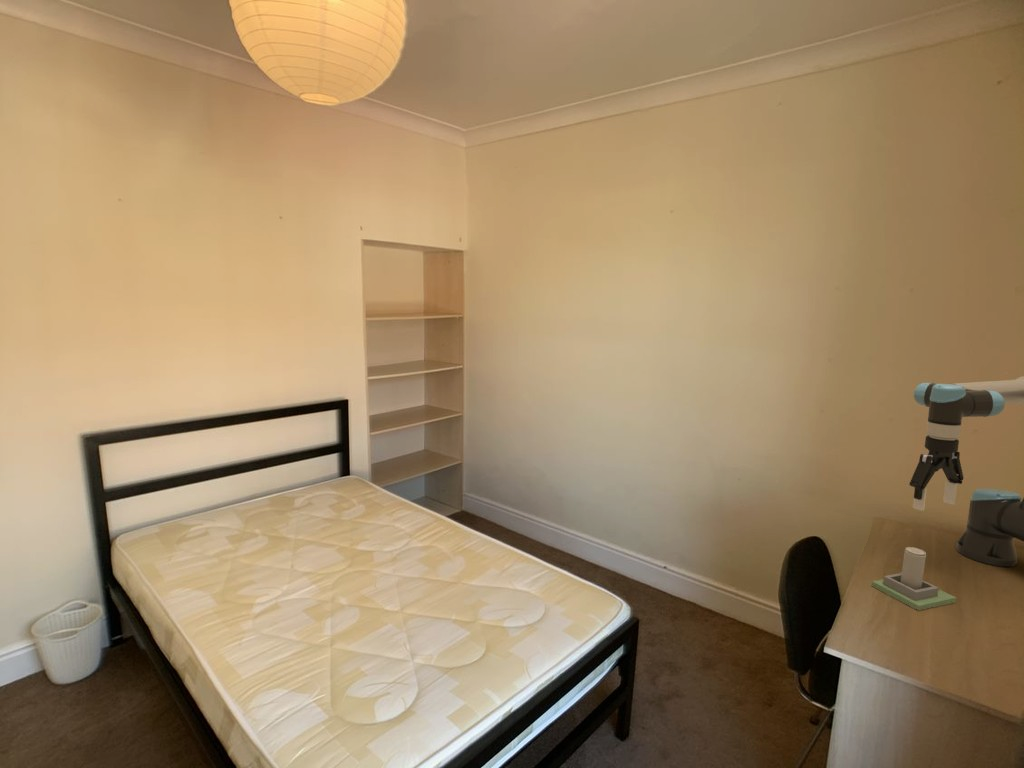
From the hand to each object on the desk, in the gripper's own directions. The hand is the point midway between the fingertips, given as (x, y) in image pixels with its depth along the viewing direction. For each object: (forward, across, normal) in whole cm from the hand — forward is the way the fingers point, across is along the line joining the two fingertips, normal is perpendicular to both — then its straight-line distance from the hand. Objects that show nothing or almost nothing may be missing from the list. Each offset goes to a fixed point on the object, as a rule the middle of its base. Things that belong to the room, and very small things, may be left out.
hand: (933, 506), depth 153 cm
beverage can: (+22, +14, +5) cm, 26 cm away
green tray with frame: (+23, +13, +5) cm, 27 cm away
